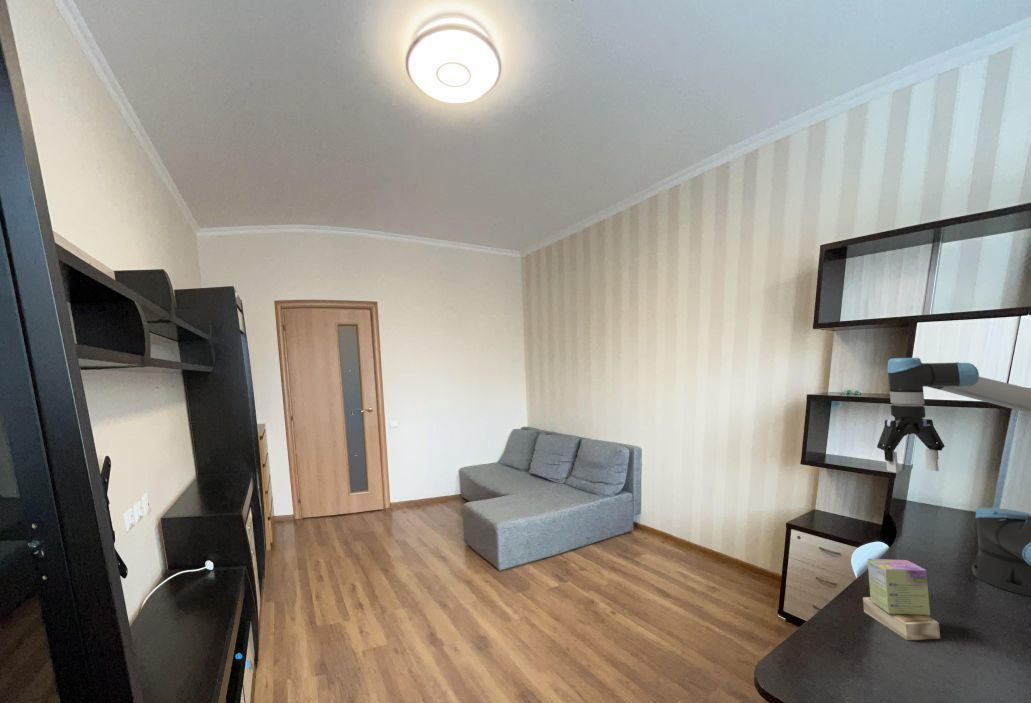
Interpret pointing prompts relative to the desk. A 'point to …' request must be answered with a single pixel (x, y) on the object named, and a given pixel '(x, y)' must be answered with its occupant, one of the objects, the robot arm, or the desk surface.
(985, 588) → the desk surface
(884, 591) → the box
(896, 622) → the wooden tray
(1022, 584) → the robot arm
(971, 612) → the desk surface
